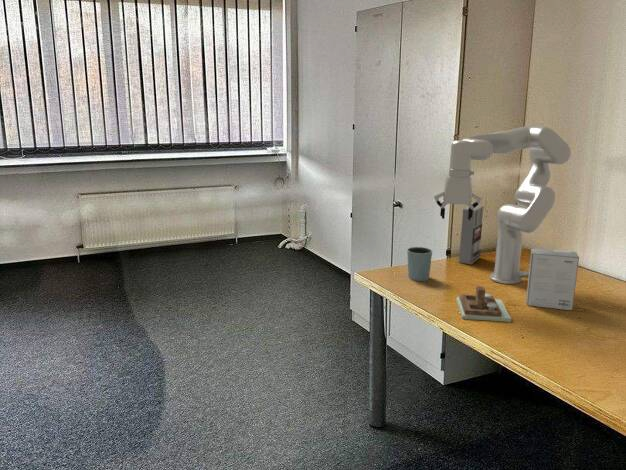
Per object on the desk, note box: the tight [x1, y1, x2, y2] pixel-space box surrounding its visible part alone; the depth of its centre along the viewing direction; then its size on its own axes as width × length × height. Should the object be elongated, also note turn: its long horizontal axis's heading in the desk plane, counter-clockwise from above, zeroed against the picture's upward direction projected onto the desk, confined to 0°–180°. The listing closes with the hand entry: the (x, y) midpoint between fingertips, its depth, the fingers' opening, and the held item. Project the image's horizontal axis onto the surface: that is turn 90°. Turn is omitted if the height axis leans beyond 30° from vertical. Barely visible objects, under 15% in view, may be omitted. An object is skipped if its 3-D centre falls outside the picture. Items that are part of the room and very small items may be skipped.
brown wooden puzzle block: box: [458, 285, 502, 317], centre depth 194 cm, size 12×16×7 cm
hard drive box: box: [525, 248, 580, 311], centre depth 199 cm, size 16×8×20 cm, turn 71°
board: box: [456, 293, 512, 323], centre depth 194 cm, size 16×18×4 cm
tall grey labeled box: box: [458, 204, 485, 265], centre depth 252 cm, size 14×6×25 cm, turn 147°
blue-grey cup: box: [406, 246, 433, 282], centre depth 228 cm, size 10×10×12 cm
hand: (455, 218), depth 209 cm, fingers open, 9 cm apart
